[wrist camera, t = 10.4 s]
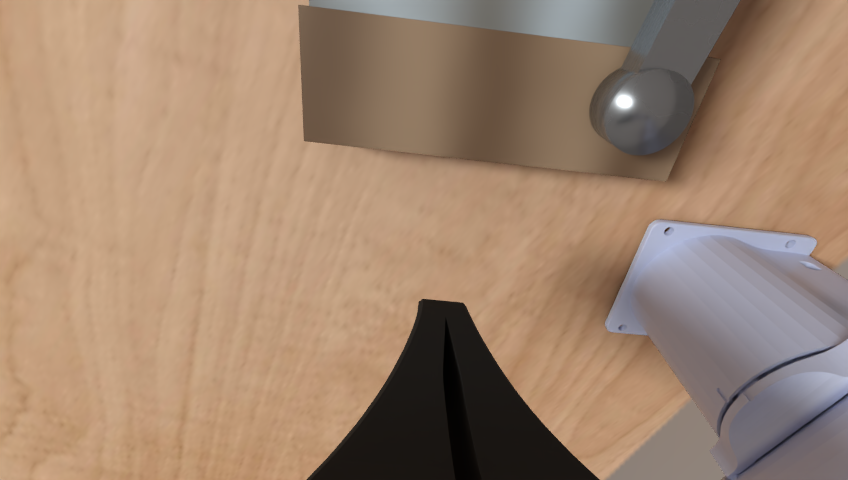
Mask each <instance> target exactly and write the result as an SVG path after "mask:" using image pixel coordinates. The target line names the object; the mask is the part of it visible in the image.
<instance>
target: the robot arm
mask: <svg viewBox="0 0 848 480" xmlns="http://www.w3.org/2000/svg"><path fill="white" fill-rule="evenodd" d="M668 227H670V229H669V230H668V231H666V232H664V231H665V229H666V228H668ZM788 241H789V242H788ZM787 242H788V243H787ZM786 243H787V244H786ZM816 244H817V241H816V239H815V238H813V237H811V236H808V235H801V234H792V233H782V232H773V231H764V230H754V229H745V228H736V227H726V226H717V225H708V224H698V223H689V222H680V221H670V220H661V219H660V220H655V221H653V222H652V223H650V225H649V226H648V228H647V230H646V233H645V235H644V237H643V239H642V241H641V244H640V246H639V248H638V250H637V253H636V255H635V257H634V259H633V261H632V264H631V266H630V268H629V270H628V273H627V275H626V277H625V279H624V282H623V284H622V286H621V288H620V290H619V293H618V295H617V297H616V299H615V302H614V304H613V306H612V308H611V310H610V313H609V315H608V317H607V319H606V322H605V327H606V329H607V330H608V331H609V332H615V333H626V334H637V335H648V336H649V337H650V339H651V340H652V342H653V343H654V345H655V346H656V348H657V349H658V350H659V352H660V353H661V355H662V356H663V358H664V359H665V361H666V362H667V363H668V365H669V366H670V368H671V369H672V371H673V372H674V374H675V375H676V376H677V378H678V379H679V381H680V382H681V384H682V385H683V387H684V388H685V389H686V391H687V392H688V394H689V395H690V397H691V398H692V400H693V401H694V402H695V404H696V405H697V407H698V408H699V410H700V411H701V413H702V414H703V415H704V417H705V418H706V420H707V421H708V422H709V424H710V425H711V427H712V428H713V430H714V431H715V433H716V434H717V436H718V437H719V440H718V442H717V443H716V445H715V446H713V448H711V449H710V453H711V454H712V455H713V457H714V459H715V460H716V462H717V463H718V465H719V466H720V468H721V469H722V471H723V472H724V474H725V477H723V478H722V479H721V480H848V280H847V279H845V278H844V277H842V276H841V275H839V274H837V273H836V272H834V271H833V270H831V269H829V268H828V267H826V266H825V265H823V264H821V263H820V262H818V261H817V260H815V259H813V258H812V257H810V256H809V255H810V254H811V252H812V251H813V249H814V248H815V246H816ZM620 325H622V326H620ZM307 480H599V479H598V478H597V477H596V476H595V475H594V474H593V473H592V472H591V471H590V470H588V469H587V468H586V467H585V466H584V465H583V464H582V463H581V462H580V461H579V460H578V459H577V458H576V457H575V456H573V455H572V454H571V453H570V452H569V451H568V449H567V448H566V447H565V446H564V445H563V444H562V443H561V442H560V441H559V440H558V439H557V438H556V437H555V436H554V435H553V434H552V433H551V432H550V431H549V430H548V429H547V428H546V427H545V425H544V424H543V423H542V422H541V421H540V420H539V418H538V417H537V416H536V415H535V414H534V413H533V411H532V410H531V409H530V408H529V407H528V405H527V404H526V403H525V402H524V400H523V399H522V398H521V397H520V395H519V394H518V393H517V391H516V390H515V389H514V387H513V386H512V385H511V383H510V382H509V380H508V379H507V377H506V376H505V375H504V373H503V372H502V370H501V369H500V367H499V366H498V364H497V362H496V361H495V359H494V358H493V356H492V354H491V353H490V351H489V349H488V348H487V346H486V344H485V343H484V341H483V339H482V337H481V336H480V334H479V332H478V330H477V328H476V326H475V324H474V322H473V320H472V318H471V316H470V314H469V312H468V310H467V308H466V306H465V305H464V303H460V302H449V301H439V300H428V299H422V300H421V301H419V305H418V312H417V317H416V320H415V323H414V326H413V329H412V331H411V334H410V336H409V338H408V341H407V343H406V345H405V347H404V350H403V352H402V353H401V355H400V357H399V359H398V361H397V363H396V365H395V367H394V369H393V370H392V372H391V374H390V376H389V377H388V379H387V381H386V382H385V384H384V385H383V387H382V388H381V390H380V392H379V393H378V395H377V396H376V398H375V399H374V400H373V402H372V403H371V405H370V406H369V407H368V409H367V410H366V412H365V413H364V414H363V416H362V417H361V418H360V420H359V421H358V422H357V424H356V425H355V426H354V427H353V429H352V430H351V431H350V432H349V433H348V434H347V436H346V437H345V438H344V439H343V440H342V442H341V443H340V444H339V445H338V446H337V448H336V449H335V450H334V451H333V452H332V453H331V454H330V456H329V457H328V458H327V459H326V460H325V461H324V462H323V463H322V464H321V465H320V466H319V467H318V468H317V469H316V470H315V471H314V472H313V473H312V474H311V476H310V477H309V478H308V479H307Z"/></svg>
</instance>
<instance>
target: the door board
mask: <svg viewBox="0 0 848 480" xmlns="http://www.w3.org/2000/svg"><path fill="white" fill-rule="evenodd" d="M653 2H654V0H309V6H304V5H298V8H299V32H300V56H301V80H302V104H303V128H304V141H308V142H317V143H326V144H335V145H344V146H353V147H362V148H371V149H380V150H389V151H397V152H406V153H415V154H424V155H433V156H442V157H451V158H460V159H469V160H478V161H487V162H496V163H505V164H514V165H522V166H531V167H540V168H549V169H558V170H567V171H576V172H585V173H594V174H603V175H612V176H621V177H630V178H638V179H647V180H656V181H665V182H666V181H667V178H668V176H669V174H670V172H671V170H672V167H673V165H674V163H675V161H676V158H677V156H678V154H679V152H680V149H681V147H682V145H683V143H684V140H685V138H686V136H687V134H688V131H689V129H690V127H691V125H692V122H693V120H694V118H695V116H696V113H697V111H698V109H699V107H700V105H701V102H702V100H703V98H704V96H705V93H706V91H707V89H708V87H709V84H710V82H711V80H712V78H713V75H714V73H715V71H716V69H717V66H718V64H719V62H720V60H721V59H717V58H710V57H707V58H706V60H705V62H704V63H703V65H702V67H701V69H700V70H699V72H698V74H697V75H696V77H695V79H694V80H693V82H692V84H691V87H692V89H693V93H694V109H693V113H692V116H691V118H690V121H689V123H688V125H687V126H686V128H685V129H684V131H683V132H682V133H681V135H680V136H679V137H678V138H677V139H676V140H675V141H673V142H672V143H671V144H670V145H668V146H667V147H665V148H663V149H662V150H660V151H657V152H655V153H652V154H648V155H630V154H627V153H624V152H622V151H621V150H619V149H618V148H616V147H615V146H613V145H612V144H610V143H609V142H607V141H606V140H605V139H603V138H602V137H600V136H599V135H598V134H597V133H596V132H595V131H594V129H593V127H592V125H591V122H590V117H589V108H590V103H591V99H592V97H593V94H594V93H595V91H596V89H597V87H598V86H599V85H600V83H601V82H602V81H603V80H604V79H605V78H606V77H607V76H608V75H610V74H611V73H612V72H614V71H615V70H617V69H619V68H621V67H622V65H623V63H624V61H625V59H626V57H627V55H628V53H629V51H630V49H631V46H632V44H633V42H634V40H635V38H636V36H637V34H638V32H639V30H640V28H641V26H642V24H643V22H644V20H645V18H646V16H647V14H648V12H649V10H650V8H651V6H652V4H653Z"/></svg>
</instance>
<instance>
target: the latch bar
mask: <svg viewBox="0 0 848 480" xmlns="http://www.w3.org/2000/svg"><path fill="white" fill-rule="evenodd" d="M739 2H740V0H654V2H653V4H652V6H651V8H650V10H649V12H648V14H647V16H646V18H645V20H644V22H643V24H642V26H641V28H640V30H639V32H638V34H637V36H636V38H635V40H634V42H633V44H632V46H631V49H630V51H629V53H628V55H627V57H626V59H625V61H624V63H623V65H622V67H621V68H619V69H617V70H615V71H614V72H612V73H611V74H610V75H608V76H607V77H606V78H605V79H604V80H603V81H602V82H601V83H600V85H599V86H598V87H597V89H596V91H595V93H594V94H593V97H592V99H591V103H590V108H589V117H590V122H591V125H592V127H593V129H594V131H595V132H596V133H597V134H598V135H599V136H600V137H602V138H603V139H605V140H606V141H607V142H609V143H610V144H612V145H613V146H615V147H616V148H618V149H619V150H621V151H622V152H624V153H627V154H630V155H648V154H652V153H655V152H657V151H660V150H662V149H663V148H665V147H667V146H668V145H670V144H671V143H672V142H673V141H675V140H676V139H677V138H678V137H679V136H680V135H681V133H682V132H683V131H684V129H685V128H686V126H687V125H688V123H689V121H690V118H691V116H692V113H693V109H694V93H693V89H692V87H691V84H692V82H693V80H694V79H695V77H696V75H697V74H698V72H699V70H700V69H701V67H702V65H703V63H704V62H705V60H706V58H707V57H708V55H709V53H710V51H711V50H712V48H713V46H714V45H715V43H716V41H717V39H718V38H719V36H720V34H721V33H722V31H723V29H724V27H725V26H726V24H727V22H728V21H729V19H730V17H731V16H732V14H733V12H734V10H735V9H736V7H737V5H738V4H739Z"/></svg>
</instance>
